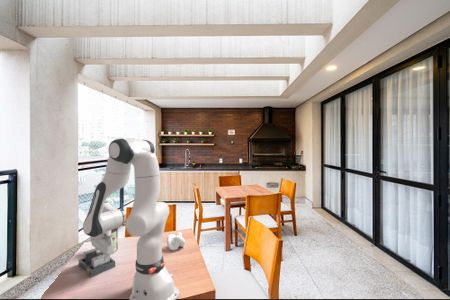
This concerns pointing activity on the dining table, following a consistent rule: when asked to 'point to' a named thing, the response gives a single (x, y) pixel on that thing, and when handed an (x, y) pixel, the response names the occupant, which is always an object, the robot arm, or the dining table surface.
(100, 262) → the grey rectangular block
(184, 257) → the dining table surface
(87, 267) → the rack
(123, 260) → the dining table surface
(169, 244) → the white lumpy piece
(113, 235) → the coffee can
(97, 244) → the robot arm
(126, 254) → the dining table surface
